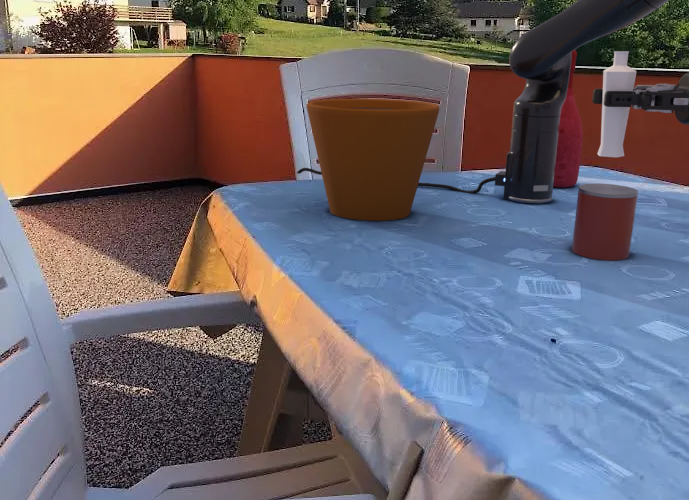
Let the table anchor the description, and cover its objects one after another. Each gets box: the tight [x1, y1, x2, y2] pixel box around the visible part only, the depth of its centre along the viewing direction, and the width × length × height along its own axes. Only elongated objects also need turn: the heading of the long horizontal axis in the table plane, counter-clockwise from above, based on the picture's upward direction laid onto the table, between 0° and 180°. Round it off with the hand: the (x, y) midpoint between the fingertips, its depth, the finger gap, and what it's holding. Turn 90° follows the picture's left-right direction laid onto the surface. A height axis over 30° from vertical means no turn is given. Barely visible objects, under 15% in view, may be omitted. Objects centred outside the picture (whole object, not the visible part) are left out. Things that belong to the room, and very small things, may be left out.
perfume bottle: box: [596, 50, 637, 158], centre depth 104 cm, size 5×4×15 cm
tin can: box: [571, 183, 639, 261], centre depth 108 cm, size 8×8×10 cm
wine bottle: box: [553, 49, 584, 189], centre depth 159 cm, size 10×10×30 cm
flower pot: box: [306, 98, 440, 222], centre depth 130 cm, size 24×24×20 cm
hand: (599, 97), depth 103 cm, fingers closed on perfume bottle, 4 cm apart
